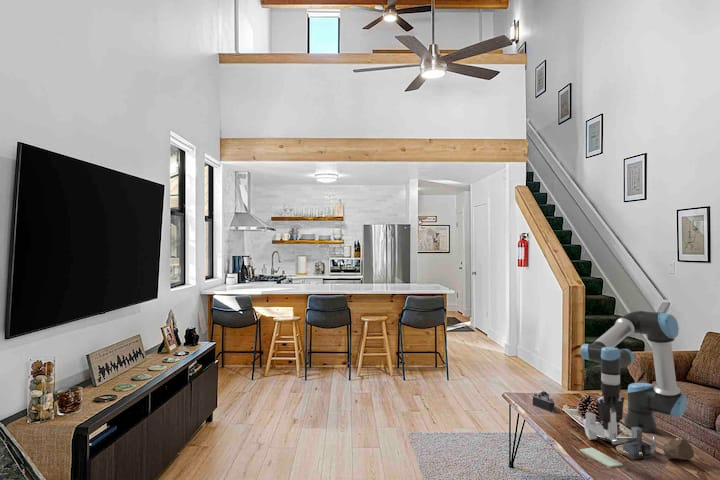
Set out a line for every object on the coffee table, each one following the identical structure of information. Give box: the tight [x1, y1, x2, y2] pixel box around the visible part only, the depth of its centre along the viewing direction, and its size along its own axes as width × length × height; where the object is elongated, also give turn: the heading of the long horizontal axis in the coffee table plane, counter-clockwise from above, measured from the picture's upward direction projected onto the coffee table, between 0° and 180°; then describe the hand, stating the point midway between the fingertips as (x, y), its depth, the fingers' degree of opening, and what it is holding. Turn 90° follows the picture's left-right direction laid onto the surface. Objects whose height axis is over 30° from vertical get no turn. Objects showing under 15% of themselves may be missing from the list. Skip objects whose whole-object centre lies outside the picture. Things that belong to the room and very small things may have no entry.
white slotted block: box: [585, 409, 617, 441], centre depth 216 cm, size 3×15×12 cm, turn 16°
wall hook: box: [582, 418, 603, 441], centre depth 237 cm, size 8×10×10 cm
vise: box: [610, 427, 657, 460], centre depth 220 cm, size 24×8×12 cm, turn 106°
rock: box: [662, 437, 695, 461], centre depth 215 cm, size 12×10×10 cm
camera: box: [532, 390, 556, 413], centre depth 284 cm, size 16×8×10 cm, turn 26°
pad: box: [579, 447, 624, 469], centre depth 215 cm, size 7×18×1 cm, turn 16°
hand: (610, 436), depth 210 cm, fingers closed on white slotted block, 3 cm apart
